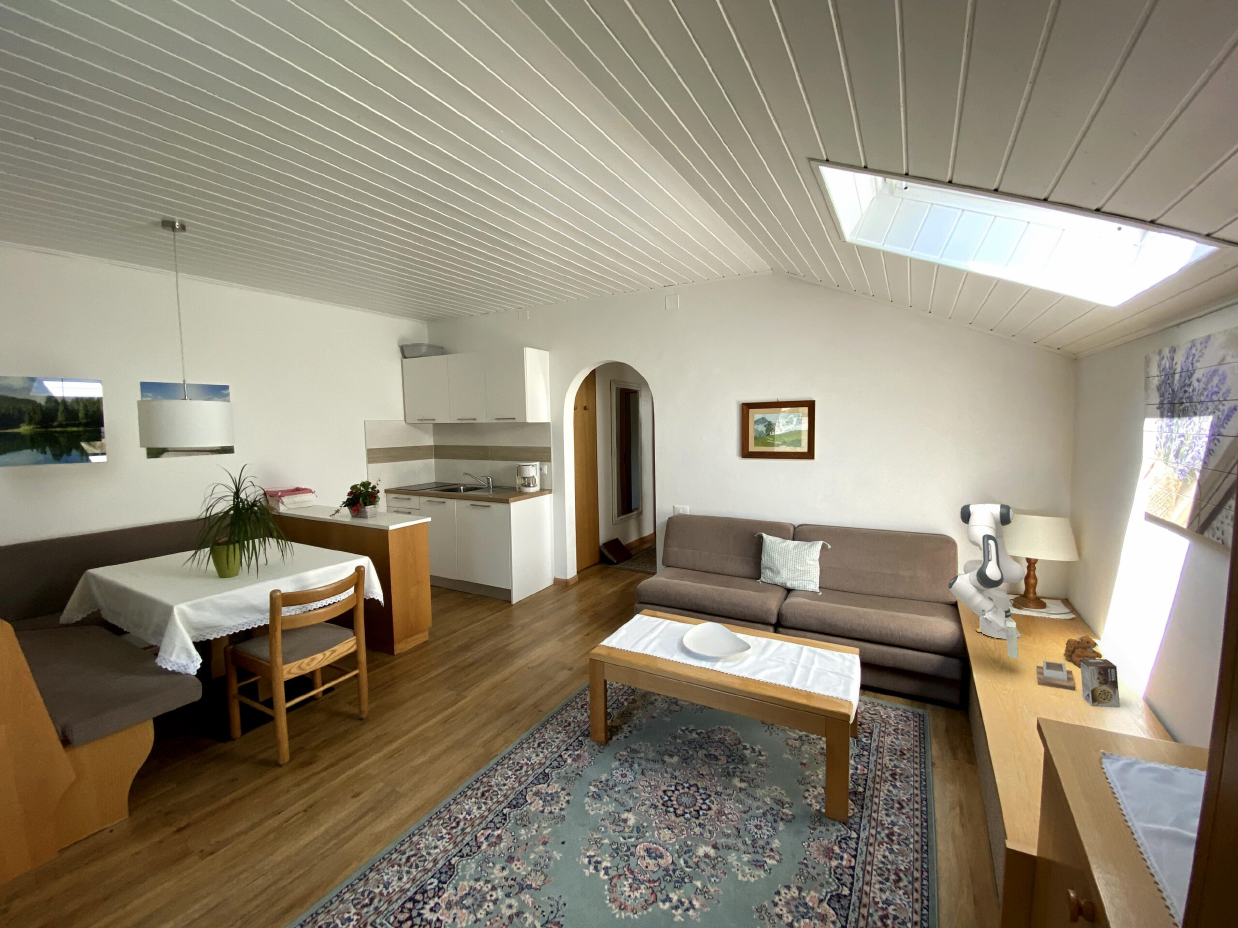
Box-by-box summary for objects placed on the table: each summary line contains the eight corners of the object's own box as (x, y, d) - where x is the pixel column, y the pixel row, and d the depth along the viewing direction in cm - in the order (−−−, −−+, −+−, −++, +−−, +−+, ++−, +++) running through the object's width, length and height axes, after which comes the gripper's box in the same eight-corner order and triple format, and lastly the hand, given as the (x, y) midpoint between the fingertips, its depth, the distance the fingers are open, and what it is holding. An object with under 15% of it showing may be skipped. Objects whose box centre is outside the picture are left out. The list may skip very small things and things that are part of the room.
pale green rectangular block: (1008, 651, 235) (1006, 621, 234) (1018, 652, 233) (1015, 622, 232) (1008, 656, 230) (1005, 626, 229) (1018, 658, 228) (1015, 627, 227)
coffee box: (1109, 698, 205) (1107, 658, 204) (1120, 707, 199) (1117, 665, 198) (1081, 697, 208) (1079, 658, 207) (1091, 706, 201) (1088, 665, 201)
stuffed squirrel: (1090, 672, 226) (1088, 642, 225) (1056, 659, 239) (1054, 631, 239) (1107, 667, 228) (1105, 638, 227) (1072, 655, 242) (1071, 627, 241)
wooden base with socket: (1036, 668, 233) (1035, 656, 233) (1072, 673, 226) (1071, 661, 225) (1037, 684, 220) (1037, 671, 220) (1075, 690, 213) (1074, 677, 213)
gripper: (987, 610, 227) (1017, 635, 221) (989, 595, 243) (1017, 618, 237) (976, 619, 230) (1005, 644, 224) (979, 603, 246) (1006, 626, 240)
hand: (1011, 630), depth 231 cm, fingers closed on pale green rectangular block, 6 cm apart
